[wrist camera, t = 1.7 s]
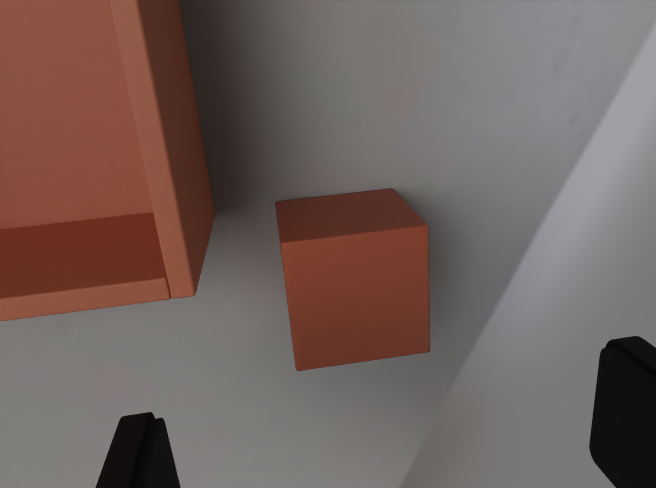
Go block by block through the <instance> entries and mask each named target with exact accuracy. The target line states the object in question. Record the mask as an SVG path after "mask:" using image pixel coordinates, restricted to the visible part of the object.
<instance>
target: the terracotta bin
mask: <svg viewBox="0 0 656 488" xmlns="http://www.w3.org/2000/svg"><path fill="white" fill-rule="evenodd" d="M214 218H215V211H214V205H213V199H212V193H211V187H210V181H209V175H208V170H207V164H206V158H205V152H204V146H203V140H202V134H201V128H200V122H199V116H198V110H197V104H196V99H195V93H194V87H193V81H192V75H191V69H190V63H189V57H188V51H187V45H186V39H185V33H184V27H183V22H182V16H181V10H180V4H179V0H0V321H6V320H14V319H22V318H29V317H37V316H45V315H52V314H60V313H68V312H76V311H83V310H91V309H99V308H106V307H114V306H122V305H129V304H137V303H145V302H153V301H160V300H168V299H170V298H171V297H172V298H182V297H190V296H194V295H195V294H196V290H197V286H198V282H199V278H200V274H201V270H202V266H203V262H204V257H205V253H206V249H207V245H208V241H209V237H210V233H211V229H212V225H213V221H214Z"/></svg>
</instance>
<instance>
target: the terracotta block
mask: <svg viewBox="0 0 656 488" xmlns="http://www.w3.org/2000/svg"><path fill="white" fill-rule="evenodd" d="M275 205H276V213H277V222H278V230H279V238H280V246H281V254H282V262H283V270H284V278H285V287H286V295H287V303H288V311H289V319H290V327H291V335H292V343H293V351H294V359H295V367H296V370H297V371H302V370H309V369H315V368H322V367H329V366H336V365H343V364H350V363H357V362H364V361H371V360H377V359H384V358H391V357H398V356H405V355H412V354H419V353H426V352H430V300H429V227H428V225H427V224H426V223H425V222H424V221H423V220H422V219H421V218H420V216H419V215H418V214H417V213H416V212H415V211H414V210H413V209H412V208H411V207H410V206H409V205H408V204H407V203H406V202H405V201H404V200H403V199H402V198H401V197H400V196H399V195H398V194H397V193H396V192H395V191H394V190H393V189H383V190H374V191H365V192H357V193H348V194H339V195H331V196H322V197H313V198H305V199H296V200H287V201H279V202H276V203H275Z"/></svg>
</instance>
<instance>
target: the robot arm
mask: <svg viewBox="0 0 656 488" xmlns="http://www.w3.org/2000/svg"><path fill="white" fill-rule="evenodd" d="M589 445H590V446H589V448H590V453H591V456H592V458H593V460H594V462H595V463H596V465H597V466H598V467H599V468H600V469H601V471H602V472H603V473H604V474H605V475H606V477H607V478H608V479H609V480H610V481H611V482H612V484H613V485H614V486H615V487H616V488H656V348H655V347H654V346H652V345H651V344H650V343H648V342H647V341H646V340H644V339H643V338H641V337H639V336H632V337H626V338H619V339H613V340H610V341H609V342H608V343H607V344H606V348H603V349H602V350H601V353H600V359H599V368H598V376H597V384H596V393H595V402H594V410H593V418H592V427H591V436H590V444H589ZM96 488H180V484H179V479H178V475H177V471H176V467H175V463H174V458H173V454H172V450H171V446H170V442H169V437H168V433H167V429H166V425H165V421H164V419H163V418H157V419H155V417H154V415H153V413H152V412H147V413H141V414H135V415H128V416H123V417H121V419H120V421H119V423H118V426H117V429H116V432H115V434H114V437H113V440H112V443H111V446H110V448H109V451H108V454H107V457H106V460H105V463H104V465H103V468H102V471H101V474H100V477H99V479H98V482H97V485H96Z"/></svg>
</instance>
